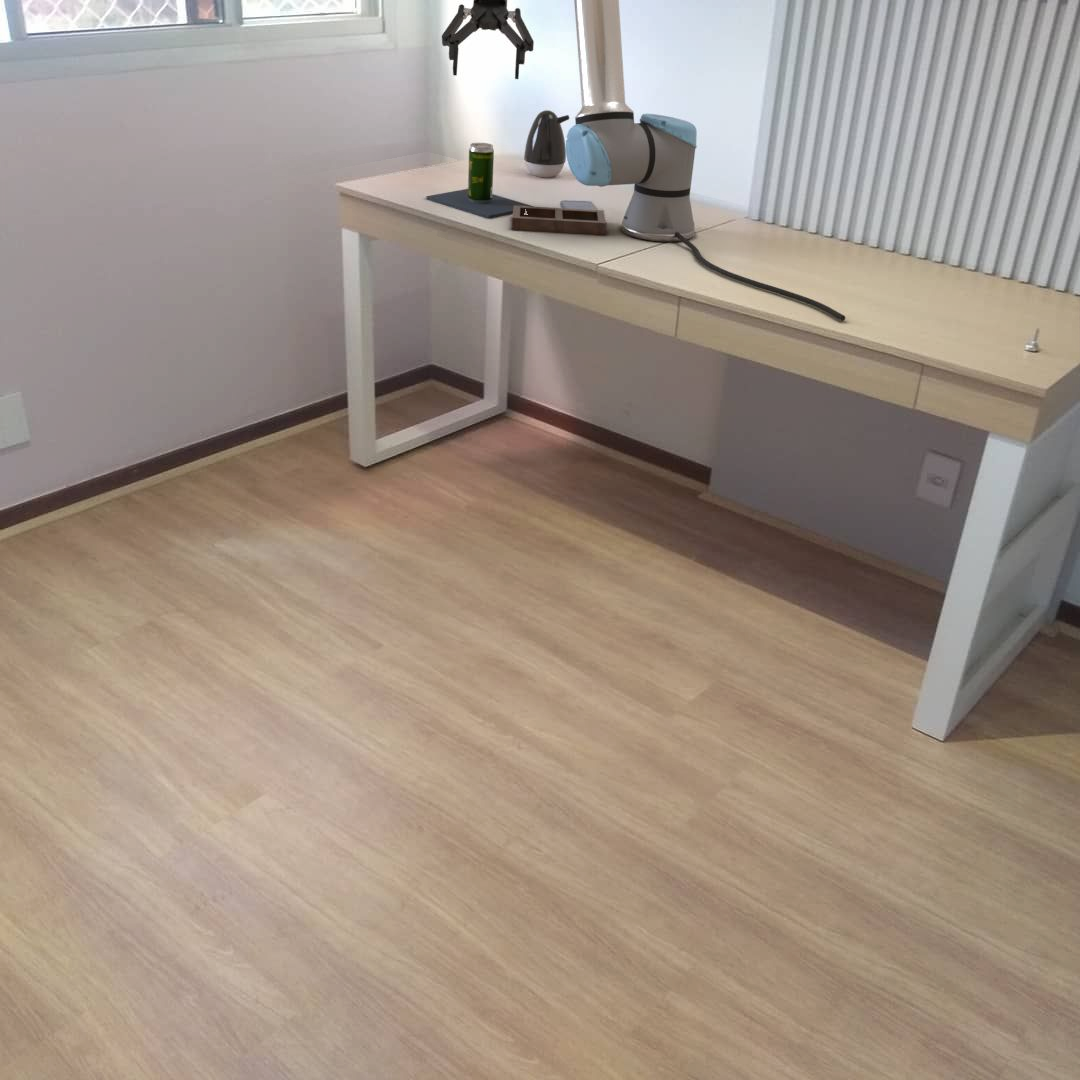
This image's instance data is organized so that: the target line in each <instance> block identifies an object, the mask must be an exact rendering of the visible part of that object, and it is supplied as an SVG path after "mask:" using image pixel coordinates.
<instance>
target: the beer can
mask: <svg viewBox="0 0 1080 1080" xmlns="http://www.w3.org/2000/svg"><path fill="white" fill-rule="evenodd" d="M494 155H495V150H494V145H493V144H492V143H488V142H472V143H470V144H469V149H468V174H467V175H468V178H467V189H468V199H469V201H470V202H472V203H477V204H486V203H490V202H491V200H492V194H493V189H494V188H493V187H494V158H495V156H494Z"/></svg>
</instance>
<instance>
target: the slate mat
mask: <svg viewBox="0 0 1080 1080" xmlns="http://www.w3.org/2000/svg"><path fill="white" fill-rule="evenodd" d="M425 197H426V200H429V201H432V202H434V203H438V204H442V205H445V206H448V207H451V208H455V209H458V210H461V211H464V212H468V213H471V214H474V215H476V216H480V217H483V218H486V219H492V218H493V219H494V218H498V217H502V216H506V215H513V206H514V205H515V206H532V207H535V205H531V204H528V203H524V202H520V201H518V200H514V199H511V198H507V197H504V196H501V195H496V194H494V193H492V200H491V202H490V203H486V204H477V203H472V202H470V201H469V199H468V188H465V189H459V190H454V191H447V192H442V193H437V194H431V195H426V196H425Z"/></svg>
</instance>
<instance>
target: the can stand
mask: <svg viewBox="0 0 1080 1080" xmlns="http://www.w3.org/2000/svg"><path fill="white" fill-rule="evenodd" d="M532 206H533V205H531V206H515V205H514V206H513V213H512V217H511V219H512V220H511V221H512V222H511V230H512V231H525V232H542V233H543V232H545V233H561V234H578V235H594V236H596V235H597V236H605V235H606V226H607V224H606V217H605V211H604V210H603V209H601V210H600V209H597V210H596V209H586V208H585V209H584V208H582V209H581V208H565V207H548V206H534V207H532ZM525 209H526V211H527V214H528V215H524V213H525Z"/></svg>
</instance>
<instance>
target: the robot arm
mask: <svg viewBox="0 0 1080 1080" xmlns="http://www.w3.org/2000/svg"><path fill="white" fill-rule="evenodd" d="M472 1H473V3H472V7H471V8H468V7H465V5H464V4H462V3H461V4H459V5H458V8H457V12H456V14H455V16H454V17H453V19H452V20H451V22H450V23H449V24H448V25H447V27H446V28H445V31H443V33H442V34H441V45H442V46H443V47H446V46H447V47H448V59H449V61H452V74H453V75H452V76H457V75H458V62H459V45H461V43H463V42H464V41H465V40H466V39H467V38H468V37H470V36H471V35H472V34H473V33H476V32H477V31H478V30H479V29H481V31H487V30H490V31H496V30H498V31H499V32H500V33H501V34H502V35H504V36H505V37H506V38H507V39H508V40H509V41H510V43H511V44H512V45H513V46H514V47H515V48H516V53H515V69H514V80H519V77H520V65H525V61H526V52H533V51H534V47H535V46H534V44H535V41H534V39H533V37H532V35H531V33H530V31H529V30H528V28H527V26H526V24H525V21H524V20H523V17H522V14H521V9H520V8H519V7H516V8H515V9H514V10H510V11H509V10H508V0H472ZM573 1H574V2H573V3H574V15H575V29H576V31H575V32H576V42H577V59H578V70H579V71H578V73H579V85H580V97H581V108H580V110H579V112H578V113H576V115H575V116H574V119H575V124H574V125H573V126H571V127H570V128H569V129H568V132H567V134H566V139H565V148H566V161H567V164H568V167H569V170H570V172H571V174H572V175H573V177H575V179H576V180H577V181H578V182H579V183H580V184H582V185H583V186H587V187H602V188H603V187H607V186H621V185H633V186H634V187H633V193H632V196H631V198H630V200H629V203H628V206H627V207H626V211H625V213H624V216H623V218H622V220H621V231H622V232H623V233H624V234H626V235H627V236H630V237H633V238H636V239H639V240H645V241H651V242H664V243H666V242H667V243H668V242H669V243H670V242H671V243H673V242H682V243H683V244H684V245H685V246H687V248H689V249H690V250H691V251H692V252H693V253H694V256H695V258H696V259H697V261H699V262H700V264H702V265H704V266H705V267H707V268H708V269H710V270H712V271H714V272H716V273H718V274H720V275H722V276H725V277H726V278H730V279H732V280H735V281H738V282H741V283H744V284H746V285H749V286H753V287H755V288H758V289H760V290H761V289H762V290H764V291H765V290H766V291H768V292H771V293H774V294H778V295H780V296H781V295H782V296H784V297H787V298H790V299H793V300H796V301H798V302H802V303H804V304H807V305H810V306H812V307H815V308H817V309H819V310H821V311H823V312H825V313H827V314H828V315H831V316H832V317H834V318H836V319H838V320H839V321H841V322H844V321H845V320H846V315H844V314H843V313H841V312H839V311H836V310H835V309H833V308H831V307H830V306H828V305H825V304H824V303H822V302H819V301H817V300H815V299H813V298H809V297H806V296H803V295H800V294H798V293H795V292H791V291H788V290H786V289H784V288H780V287H776V286H773V285H769V284H766V283H763V282H760V281H757V280H753V279H751V278H748V277H745V276H742V275H739V274H736V273H734V272H731V271H728V270H726V269H724V268H721V267H720V266H718V265H715V264H714V263H712V262H710V261H708V260H707V259H706V258H705V257H703V256H702V254H701V252H700V251H699V249H698V247H697V246H695V244H694V243H692V242H691V241H690V239H692V238H693V237H694V236H695V229H696V227H695V221H694V215H693V208H692V203H691V199H690V197H691V189H692V180H693V170H694V164H695V154H696V149H697V148H698V147H697V137H698V136H697V127H696V126H695V125H694V124H693V123H691V122H690V121H688V120H685V119H681V118H677V117H674V116H673V117H672V116H668V115H662V114H656V113H642V114H641V116H640V118H639V122H635V113H634V110H633V109H632V108H630V107H629V106H628V104H626V91H625V75H624V61H623V49H622V48H623V46H622V45H623V44H622V28H621V15H620V0H573ZM468 16H470V19H469V21H468V22H467V23H466V24H464V25H463V26H462V24H463V22H464V20H466V19H467V18H468ZM509 19H511V21H512V23H514V24H515V27H516V29H517V31H518V33H519V34H518V33H517V32H516V31H515V29H514V28H513V27H512V26H511V24H509V23H508V20H509ZM461 26H462V27H461ZM460 27H461V28H460Z"/></svg>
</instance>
